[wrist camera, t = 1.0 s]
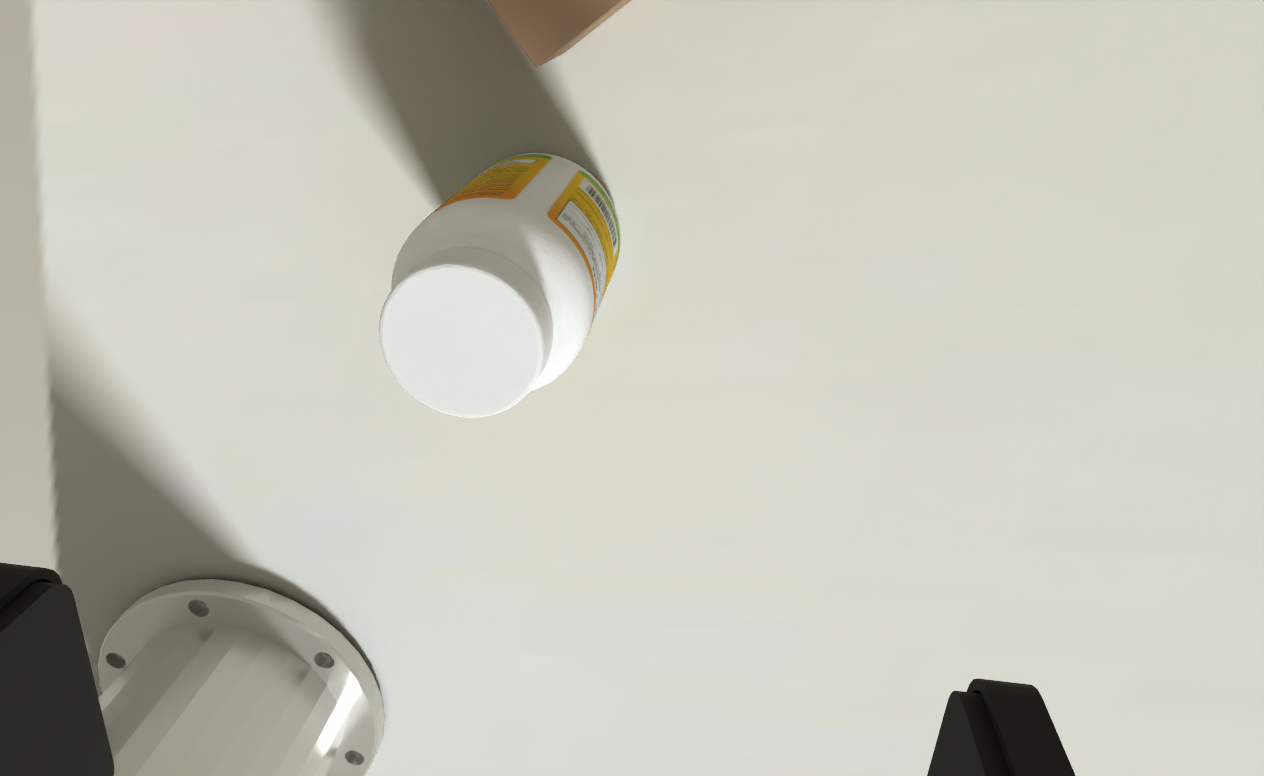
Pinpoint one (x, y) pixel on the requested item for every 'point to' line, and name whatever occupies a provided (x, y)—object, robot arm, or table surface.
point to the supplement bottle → (500, 285)
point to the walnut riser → (552, 23)
